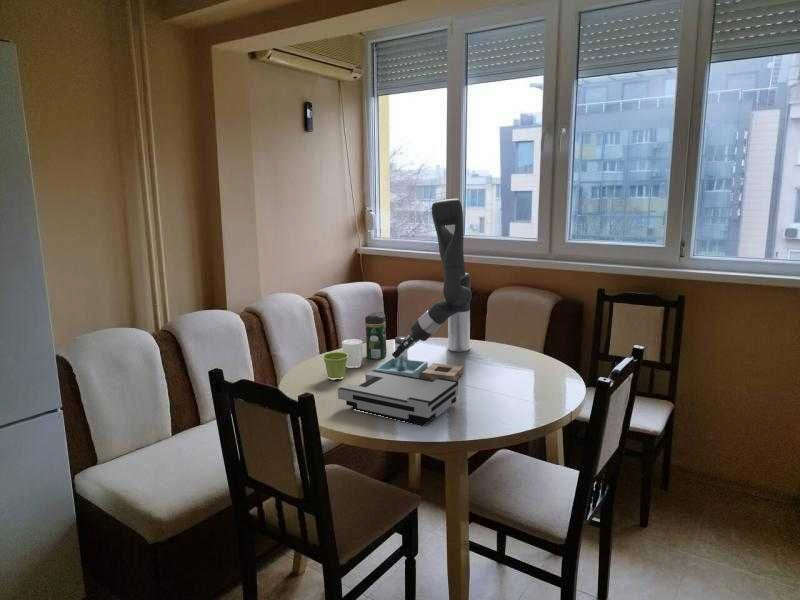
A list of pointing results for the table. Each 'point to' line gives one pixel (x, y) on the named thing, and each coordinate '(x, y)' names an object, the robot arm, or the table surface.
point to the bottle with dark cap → (401, 356)
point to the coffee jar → (375, 335)
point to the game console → (401, 396)
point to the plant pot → (335, 364)
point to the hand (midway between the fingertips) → (396, 354)
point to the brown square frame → (442, 372)
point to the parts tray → (413, 370)
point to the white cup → (353, 351)
